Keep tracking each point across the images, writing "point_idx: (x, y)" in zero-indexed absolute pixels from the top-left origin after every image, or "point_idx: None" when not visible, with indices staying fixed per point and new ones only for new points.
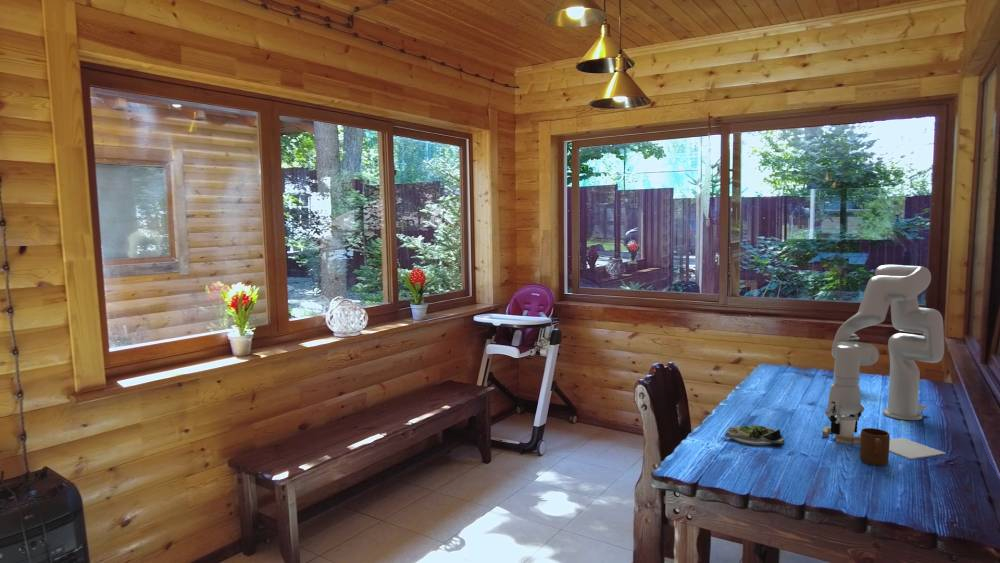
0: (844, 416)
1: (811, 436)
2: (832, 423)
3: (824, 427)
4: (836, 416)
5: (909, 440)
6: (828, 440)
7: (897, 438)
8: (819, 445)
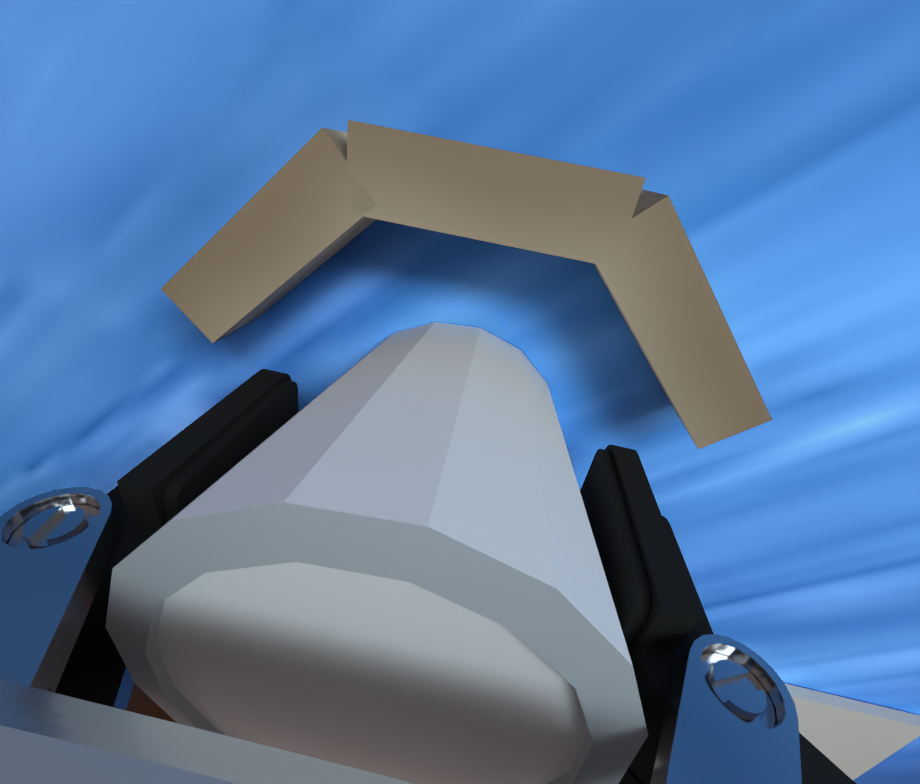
0: (461, 684)
1: (65, 187)
2: (116, 513)
3: (344, 157)
4: (236, 587)
5: (864, 764)
6: (190, 392)
7: (854, 714)
8: (9, 425)
